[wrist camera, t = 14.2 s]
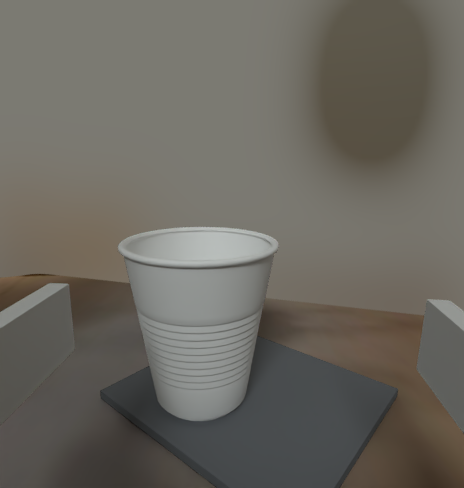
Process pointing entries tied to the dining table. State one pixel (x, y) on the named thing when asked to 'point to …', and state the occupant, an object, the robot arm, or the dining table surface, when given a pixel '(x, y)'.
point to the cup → (199, 312)
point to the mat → (269, 422)
